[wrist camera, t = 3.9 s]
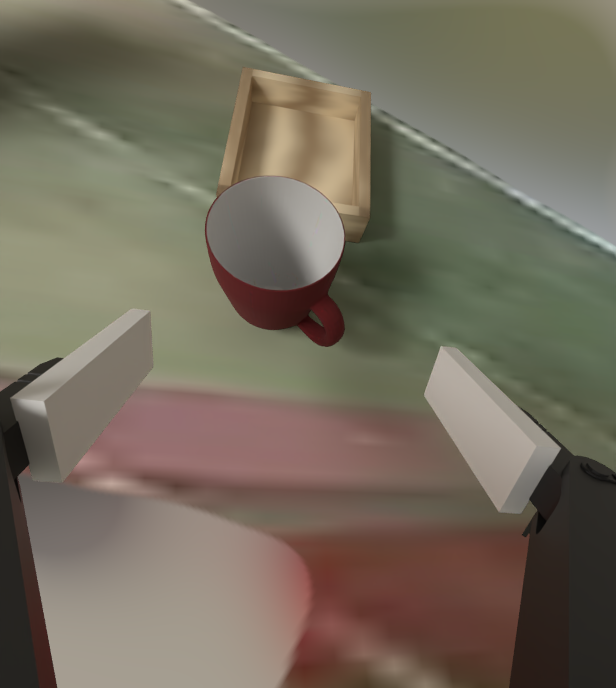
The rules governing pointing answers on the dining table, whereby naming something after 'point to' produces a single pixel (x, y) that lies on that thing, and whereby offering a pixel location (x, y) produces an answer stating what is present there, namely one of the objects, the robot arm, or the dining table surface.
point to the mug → (278, 254)
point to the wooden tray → (303, 140)
